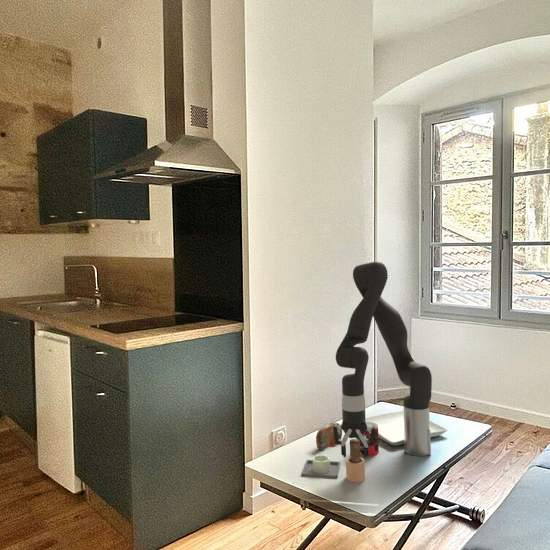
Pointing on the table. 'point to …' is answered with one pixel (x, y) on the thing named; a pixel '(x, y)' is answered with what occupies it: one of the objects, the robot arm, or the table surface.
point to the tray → (309, 472)
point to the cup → (355, 470)
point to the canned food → (372, 449)
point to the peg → (354, 451)
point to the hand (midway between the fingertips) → (355, 456)
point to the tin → (327, 437)
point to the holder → (321, 464)
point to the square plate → (397, 427)
